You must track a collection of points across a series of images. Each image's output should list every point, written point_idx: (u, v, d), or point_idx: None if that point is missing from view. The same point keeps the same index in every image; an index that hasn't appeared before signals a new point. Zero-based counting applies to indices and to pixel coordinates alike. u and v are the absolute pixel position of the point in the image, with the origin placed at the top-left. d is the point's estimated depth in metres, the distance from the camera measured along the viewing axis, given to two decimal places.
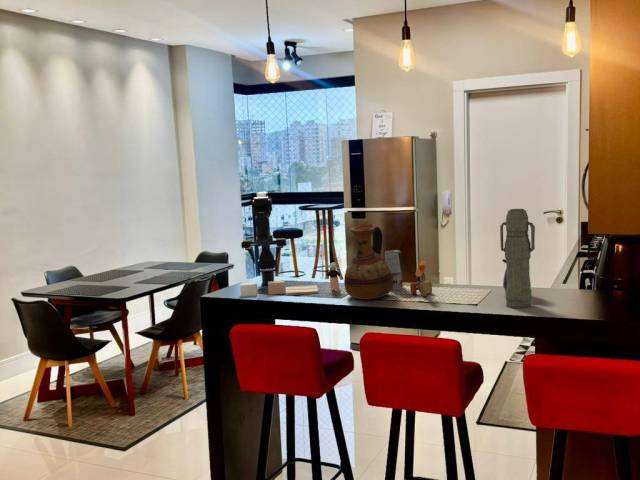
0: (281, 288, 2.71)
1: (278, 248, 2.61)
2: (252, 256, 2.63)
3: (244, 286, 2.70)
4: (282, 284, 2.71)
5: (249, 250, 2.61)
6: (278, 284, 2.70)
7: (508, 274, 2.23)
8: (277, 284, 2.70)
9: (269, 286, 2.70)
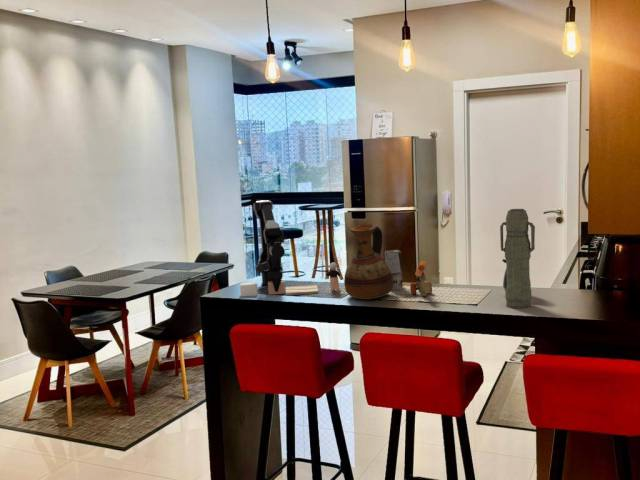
0: (281, 288, 2.71)
1: None
2: None
3: (244, 286, 2.70)
4: (282, 283, 2.71)
5: None
6: None
7: (508, 274, 2.23)
8: None
9: (269, 286, 2.70)
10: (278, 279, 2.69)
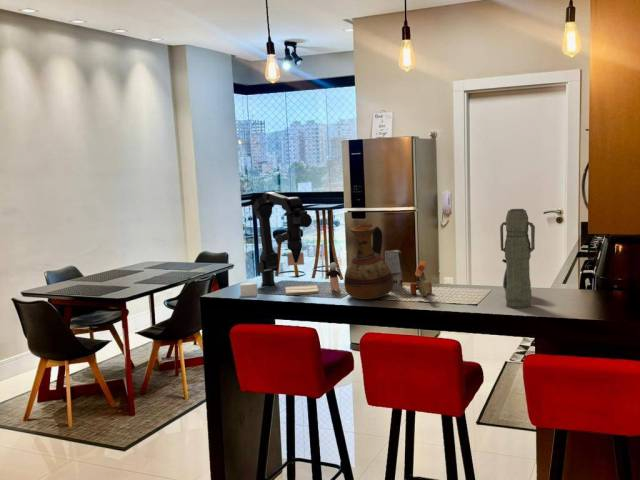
0: (300, 259, 2.70)
1: (289, 249, 2.67)
2: None
3: (244, 286, 2.70)
4: (301, 254, 2.69)
5: None
6: None
7: (508, 274, 2.23)
8: None
9: (288, 257, 2.69)
10: (297, 250, 2.67)
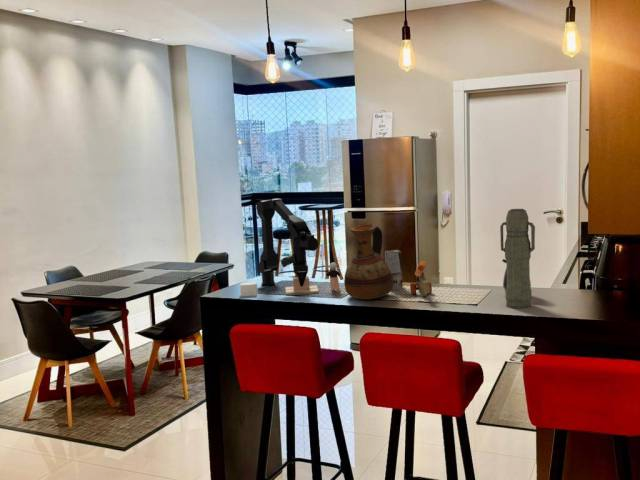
0: (306, 284, 2.71)
1: (295, 273, 2.66)
2: None
3: (244, 286, 2.70)
4: (307, 279, 2.71)
5: None
6: None
7: (508, 274, 2.23)
8: None
9: (294, 282, 2.71)
10: (303, 274, 2.67)
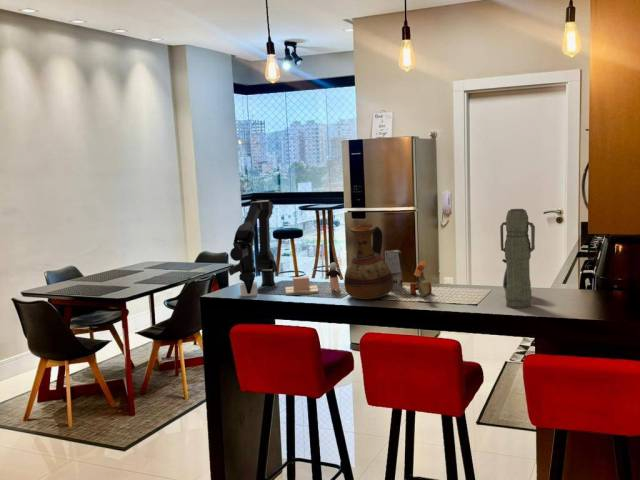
0: (306, 284, 2.71)
1: None
2: None
3: (244, 286, 2.70)
4: (307, 279, 2.71)
5: None
6: (303, 280, 2.71)
7: (508, 274, 2.23)
8: (302, 280, 2.71)
9: (294, 282, 2.71)
10: (250, 281, 2.68)
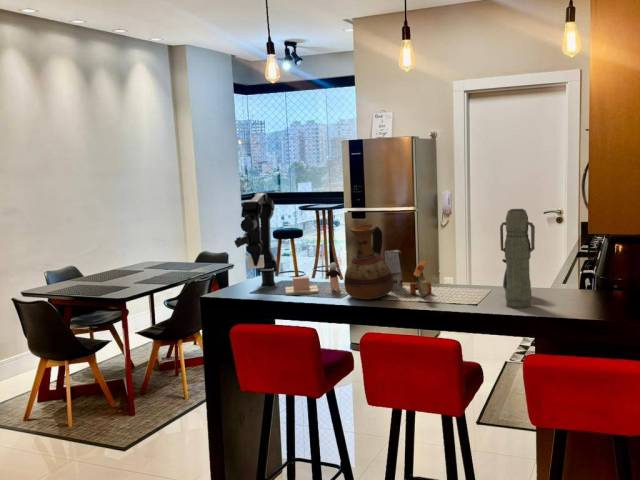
0: (306, 284, 2.71)
1: None
2: None
3: (251, 258, 2.68)
4: (307, 279, 2.71)
5: None
6: (303, 280, 2.71)
7: (508, 274, 2.23)
8: (302, 280, 2.71)
9: (294, 282, 2.71)
10: (257, 253, 2.67)
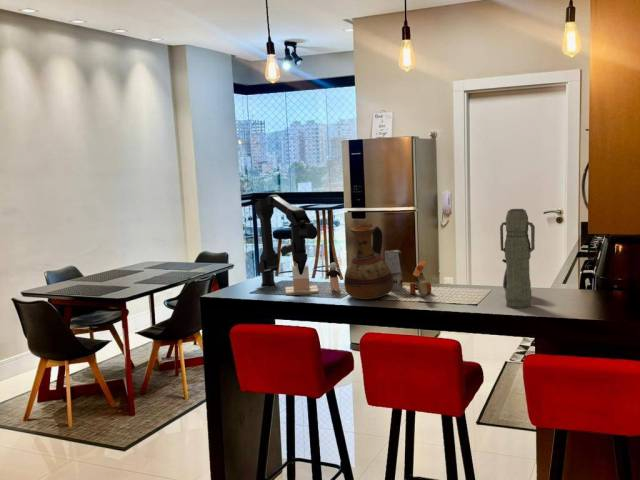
0: (306, 284, 2.71)
1: (294, 261, 2.67)
2: None
3: (296, 268, 2.70)
4: (307, 279, 2.71)
5: None
6: (303, 280, 2.71)
7: (508, 274, 2.23)
8: (302, 280, 2.71)
9: (294, 282, 2.71)
10: (303, 262, 2.67)
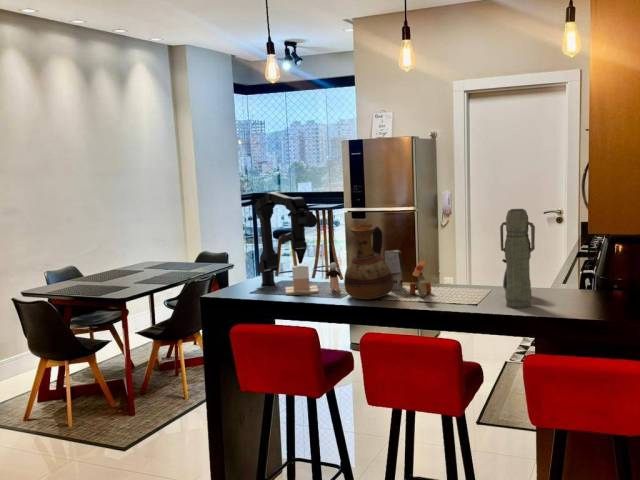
0: (306, 284, 2.71)
1: None
2: None
3: (296, 268, 2.70)
4: (307, 279, 2.71)
5: None
6: (303, 280, 2.71)
7: (508, 274, 2.23)
8: (302, 280, 2.71)
9: (294, 282, 2.71)
10: (302, 251, 2.66)
